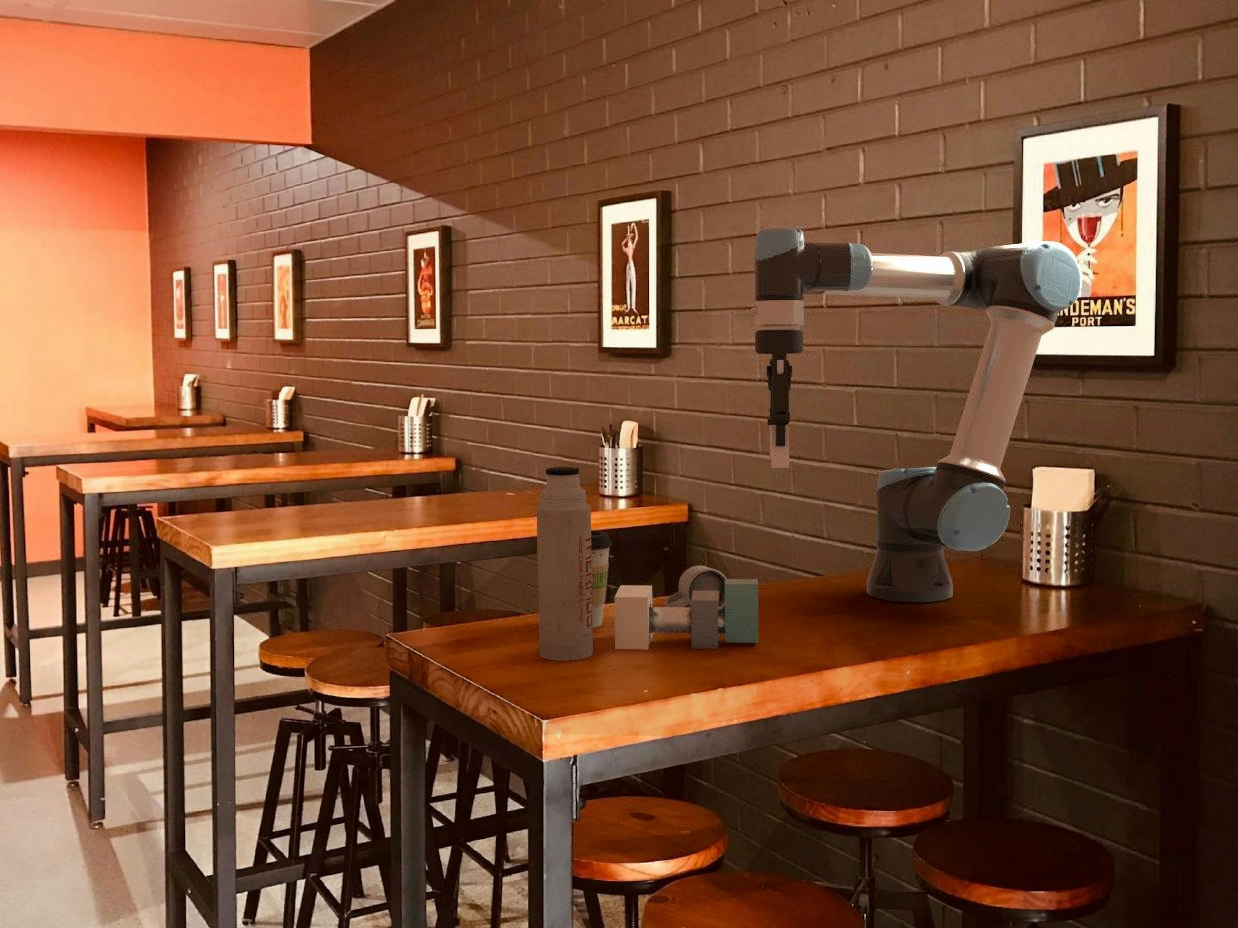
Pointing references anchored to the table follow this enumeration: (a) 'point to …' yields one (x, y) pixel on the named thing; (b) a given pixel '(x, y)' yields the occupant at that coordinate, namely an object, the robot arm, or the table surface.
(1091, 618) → the table surface
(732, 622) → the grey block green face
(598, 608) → the coffee cup
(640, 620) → the socket block
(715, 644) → the square hollow collar
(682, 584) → the ceramic mug
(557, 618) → the thermos bottle
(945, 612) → the table surface
